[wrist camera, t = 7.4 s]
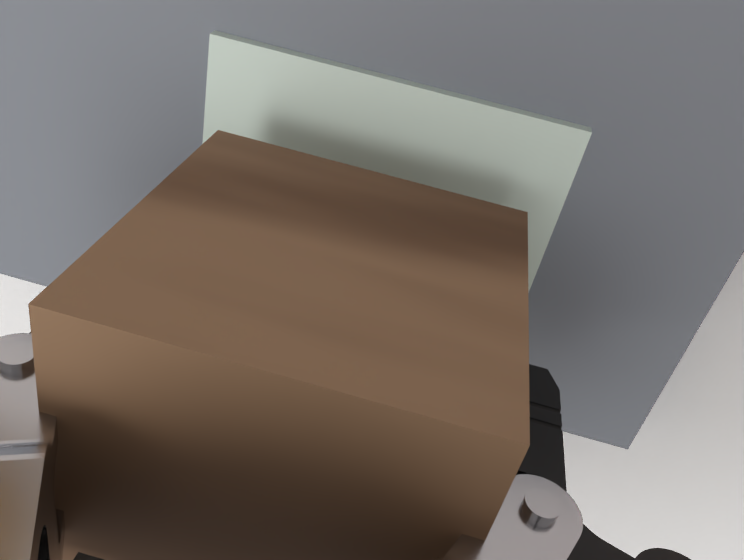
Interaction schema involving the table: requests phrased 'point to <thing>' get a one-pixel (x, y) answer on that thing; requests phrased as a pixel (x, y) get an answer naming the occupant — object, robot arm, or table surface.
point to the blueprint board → (417, 143)
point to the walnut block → (287, 365)
